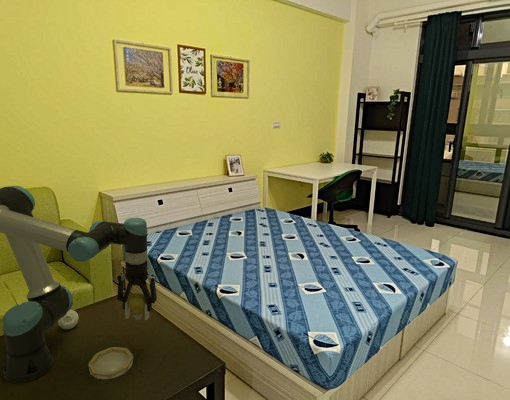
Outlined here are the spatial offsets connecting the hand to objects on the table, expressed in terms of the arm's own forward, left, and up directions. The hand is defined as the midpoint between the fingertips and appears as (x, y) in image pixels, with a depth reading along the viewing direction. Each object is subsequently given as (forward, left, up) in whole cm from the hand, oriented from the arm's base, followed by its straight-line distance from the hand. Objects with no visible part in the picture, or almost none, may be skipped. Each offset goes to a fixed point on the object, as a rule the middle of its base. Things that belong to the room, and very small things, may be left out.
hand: (137, 317), depth 133 cm
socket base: (-8, -6, -16) cm, 19 cm away
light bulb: (0, 0, -1) cm, 1 cm away
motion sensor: (-36, +14, -17) cm, 42 cm away
